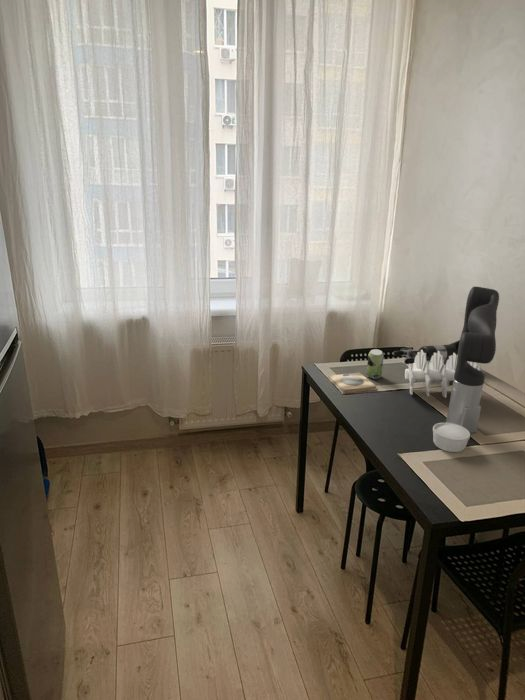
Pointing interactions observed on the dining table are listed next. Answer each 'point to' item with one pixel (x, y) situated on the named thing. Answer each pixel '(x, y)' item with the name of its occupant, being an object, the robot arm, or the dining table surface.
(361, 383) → the hub seat
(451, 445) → the ramekin
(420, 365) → the white adirondack chairs
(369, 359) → the beverage can
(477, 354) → the robot arm
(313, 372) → the dining table surface
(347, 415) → the dining table surface
